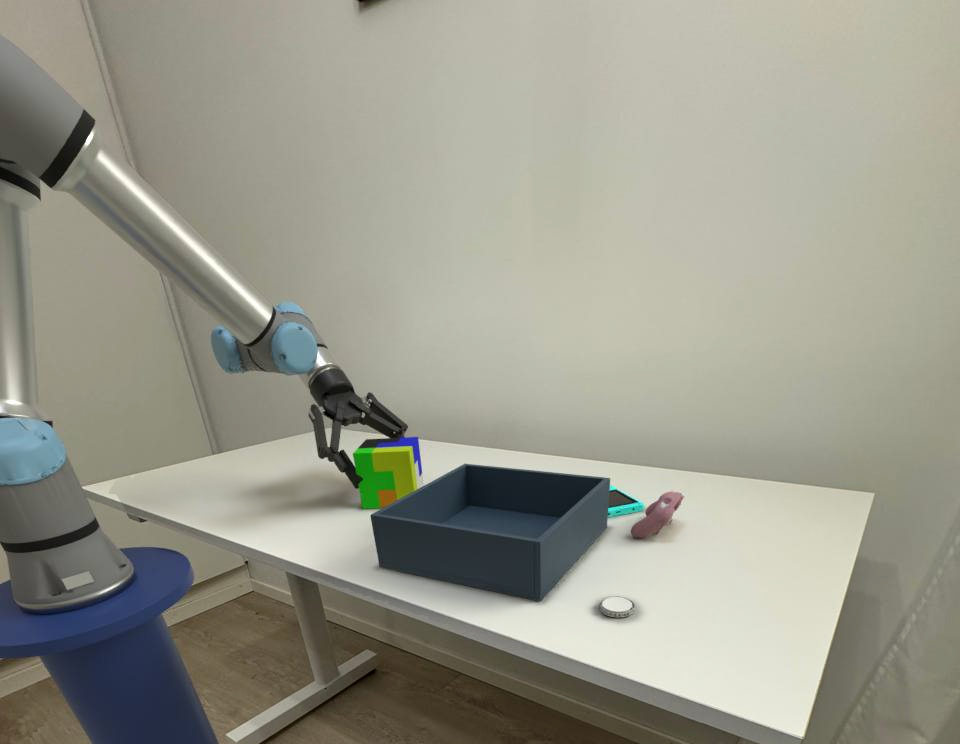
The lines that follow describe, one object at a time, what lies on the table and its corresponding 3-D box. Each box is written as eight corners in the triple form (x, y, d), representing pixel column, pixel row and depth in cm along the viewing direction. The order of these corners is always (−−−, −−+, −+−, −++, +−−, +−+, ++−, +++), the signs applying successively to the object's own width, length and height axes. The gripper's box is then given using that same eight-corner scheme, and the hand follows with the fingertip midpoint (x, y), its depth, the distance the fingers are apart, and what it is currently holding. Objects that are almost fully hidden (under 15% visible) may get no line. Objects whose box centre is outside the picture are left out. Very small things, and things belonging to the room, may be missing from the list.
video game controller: (652, 551, 83) (679, 514, 78) (626, 534, 83) (651, 496, 79) (668, 527, 90) (693, 492, 85) (644, 512, 91) (668, 476, 86)
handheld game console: (599, 483, 106) (599, 476, 105) (645, 510, 93) (646, 502, 92) (550, 492, 103) (551, 485, 102) (592, 520, 90) (592, 512, 90)
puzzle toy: (424, 489, 109) (418, 436, 104) (416, 506, 101) (409, 451, 96) (374, 491, 110) (366, 439, 105) (362, 508, 102) (352, 453, 97)
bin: (379, 567, 80) (370, 514, 76) (468, 508, 99) (464, 463, 94) (540, 601, 69) (540, 542, 65) (607, 528, 87) (610, 477, 83)
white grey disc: (628, 599, 68) (629, 594, 68) (638, 615, 65) (638, 611, 64) (596, 601, 68) (596, 597, 68) (604, 618, 65) (604, 613, 64)
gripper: (372, 384, 114) (429, 470, 113) (263, 407, 100) (327, 504, 99) (383, 357, 108) (443, 447, 107) (269, 376, 94) (337, 480, 93)
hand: (387, 475), depth 103 cm, fingers closed on puzzle toy, 12 cm apart
